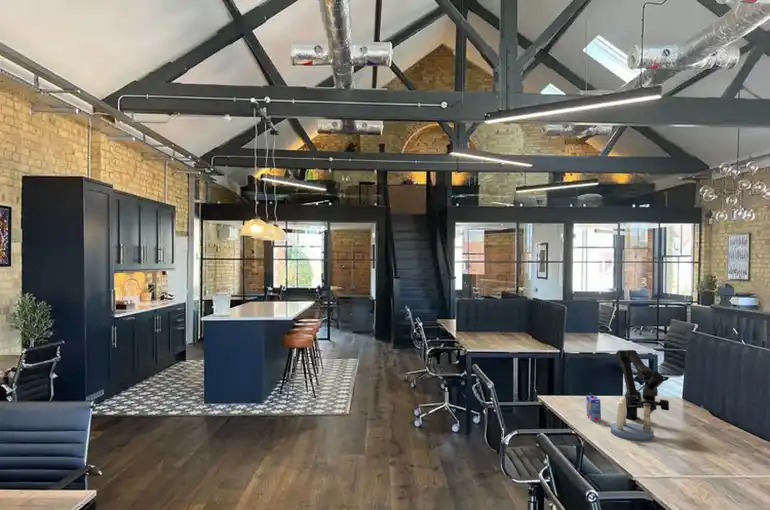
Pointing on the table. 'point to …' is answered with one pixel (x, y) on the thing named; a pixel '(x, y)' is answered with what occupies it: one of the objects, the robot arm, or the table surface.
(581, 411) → the table surface
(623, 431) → the round peg stand
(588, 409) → the ink cartridge box
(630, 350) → the robot arm
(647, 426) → the hinged leg
